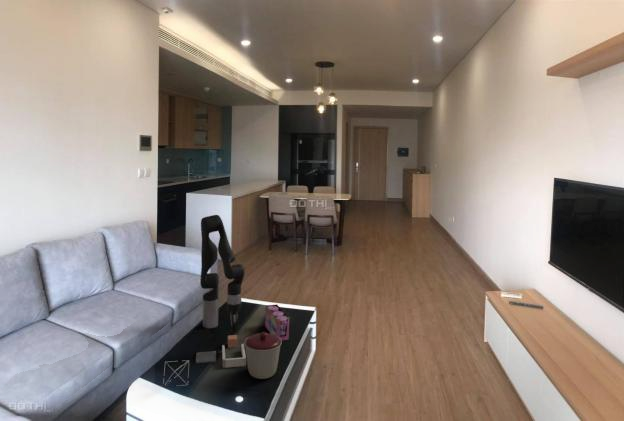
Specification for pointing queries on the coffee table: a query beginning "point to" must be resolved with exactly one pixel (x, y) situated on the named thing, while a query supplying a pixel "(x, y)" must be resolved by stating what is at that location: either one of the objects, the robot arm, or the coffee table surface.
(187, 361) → the geometric polyhedron
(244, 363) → the grey arch handle
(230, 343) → the terracotta block
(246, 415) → the coffee table surface
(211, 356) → the slate coaster
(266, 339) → the canister
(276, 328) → the gum box
